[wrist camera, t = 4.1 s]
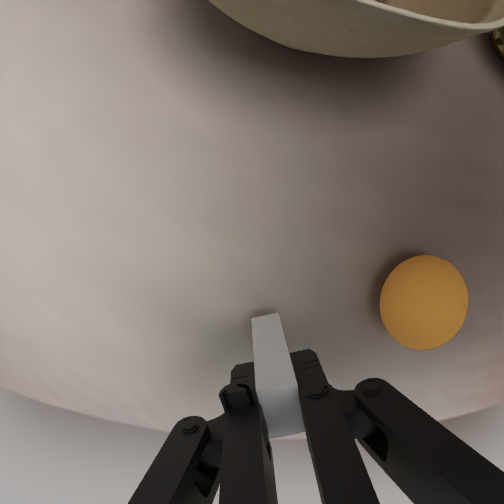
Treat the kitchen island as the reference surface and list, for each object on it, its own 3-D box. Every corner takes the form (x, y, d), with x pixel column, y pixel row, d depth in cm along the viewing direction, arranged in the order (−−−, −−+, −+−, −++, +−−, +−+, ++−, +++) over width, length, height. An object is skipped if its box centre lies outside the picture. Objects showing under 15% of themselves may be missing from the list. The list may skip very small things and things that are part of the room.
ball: (434, 238, 18) (488, 257, 13) (437, 313, 19) (481, 347, 14) (361, 257, 18) (403, 284, 13) (369, 336, 19) (404, 381, 14)
